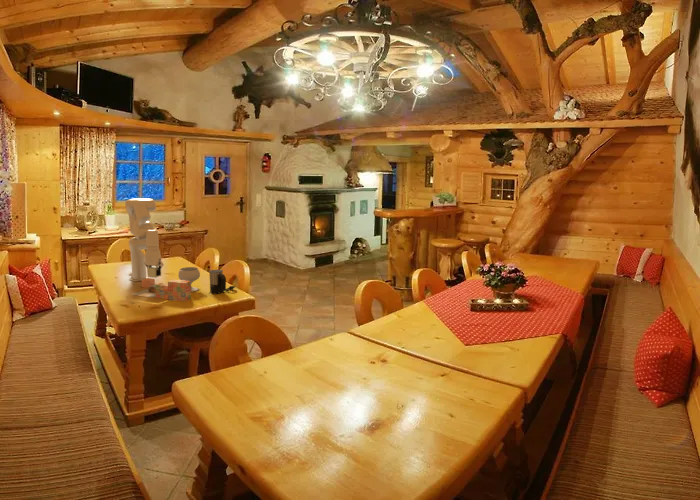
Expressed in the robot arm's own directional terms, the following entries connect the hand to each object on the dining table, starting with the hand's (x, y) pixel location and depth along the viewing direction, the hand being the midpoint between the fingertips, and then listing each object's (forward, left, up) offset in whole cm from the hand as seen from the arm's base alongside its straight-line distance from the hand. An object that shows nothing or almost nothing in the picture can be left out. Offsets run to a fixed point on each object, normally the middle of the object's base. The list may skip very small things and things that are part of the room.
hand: (154, 274), depth 329 cm
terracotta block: (-13, +8, -12) cm, 20 cm away
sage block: (0, 0, -1) cm, 1 cm away
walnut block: (0, 0, -11) cm, 11 cm away
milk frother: (+39, +21, -13) cm, 46 cm away
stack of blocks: (+21, -7, -13) cm, 25 cm away
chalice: (+17, +14, -13) cm, 25 cm away
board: (0, -4, -12) cm, 13 cm away
